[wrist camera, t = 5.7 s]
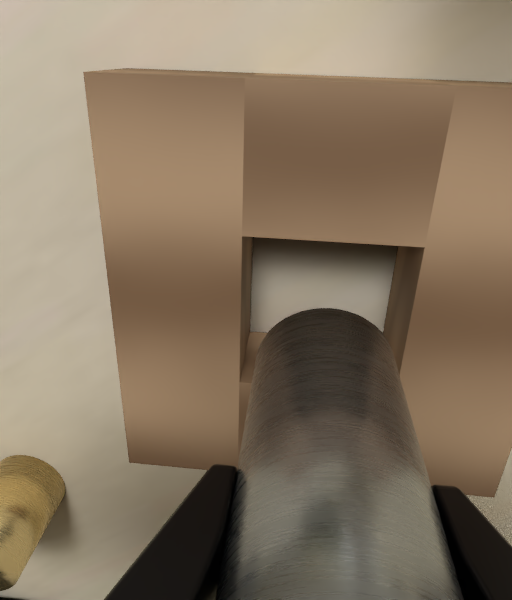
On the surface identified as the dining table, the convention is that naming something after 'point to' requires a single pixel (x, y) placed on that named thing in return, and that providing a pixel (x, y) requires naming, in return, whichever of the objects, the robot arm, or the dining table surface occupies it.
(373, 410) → the tall pin
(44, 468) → the short pin
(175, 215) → the hole block
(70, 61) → the dining table surface
